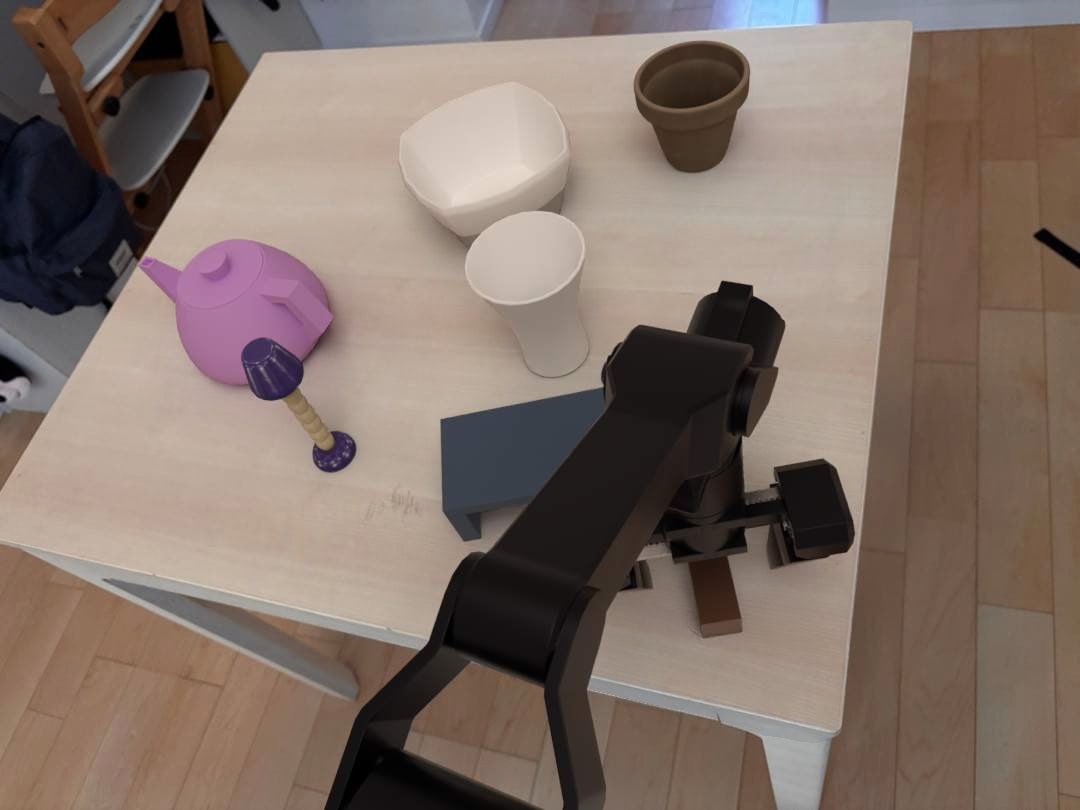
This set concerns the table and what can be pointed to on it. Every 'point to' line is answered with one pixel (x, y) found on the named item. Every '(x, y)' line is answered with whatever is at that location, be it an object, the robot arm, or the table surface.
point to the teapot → (241, 304)
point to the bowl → (487, 158)
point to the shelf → (508, 453)
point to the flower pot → (693, 100)
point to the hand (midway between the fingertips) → (709, 573)
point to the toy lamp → (294, 399)
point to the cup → (534, 286)
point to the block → (715, 597)
